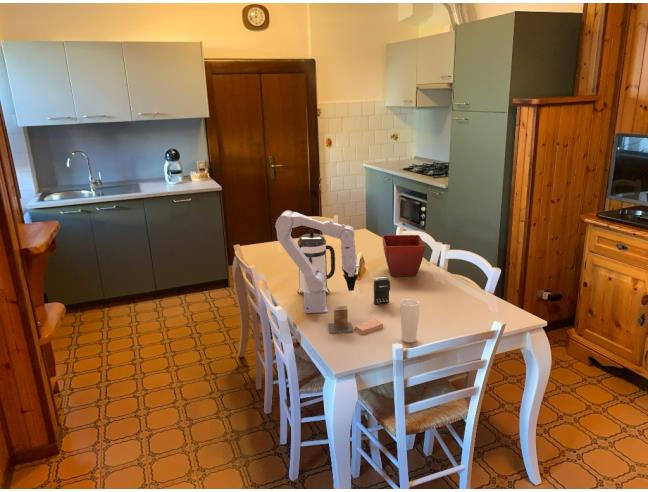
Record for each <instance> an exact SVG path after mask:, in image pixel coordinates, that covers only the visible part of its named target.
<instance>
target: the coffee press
mask: <svg viewBox="0 0 648 492" xmlns="http://www.w3.org/2000/svg"><path fill="white" fill-rule="evenodd" d="M326 244H327V239H326V237H325V236H324V235H323V234H319V233H315V231H314V230H313V229H310V230H309V231H308V233H306V234H302V236H300V237H299V238H298V240H297V245H298V247H299V248H300V249H301V251H302V252H303V253H304V255H305V256H306V257H307V259H308V260H309V261H310V263H311V264H312V265H313V266H314V267H316V268H317V269H318V270H319V271H321V272H322V273H324V275H325V282H324V284H323V285H324V286H325V290H327V291H326V294H327V295H329V294H330V292H331V290H330V289H329V287H328V280H329V279H331V278H333V276H334V275H335V271H336V253H335V252H336V251H335V249H334V247H333V246H331V245H328V244H327V245H326ZM327 250H329V252H330V272H329V273H328V270H327V267H328V266H327V265H328V263H327V262H328V261H327ZM298 276H299V277H298V279H299V282H298V283H299V288H298V289H297V291H296V292H297V293H298V294H301V293H304V290H307V289H308V284H307V282H306V281H305V278H304V275H303V273H302V272H301V270H300V269H299V268H298ZM299 290H300V291H299ZM299 292H300V293H299Z"/></svg>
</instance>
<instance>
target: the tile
mask: <svg viewBox="0 0 648 492" xmlns="http://www.w3.org/2000/svg"><path fill="white" fill-rule="evenodd" d="M382 328H384V323H383V322H380V321H379V320H377V319H375V318H374V319H371V320H368V321H364V322H362V323H360V324H356V325H354V331H356V332H357V333H359V334H361V335H365V334H368V333H371V332H374V331H377V330H380V329H382Z"/></svg>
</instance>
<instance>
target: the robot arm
mask: <svg viewBox="0 0 648 492" xmlns="http://www.w3.org/2000/svg"><path fill="white" fill-rule="evenodd" d="M300 226H303V227H306V228H307V227H308V228H312V229H316V230H319V231H321V233H322V235H325V236H328V237H331V238H334V239H337V240H338V239H339V240H340V243H341V245H340V249H341V251H340V252H341V270H342V272H343V275H342V276H343V278H344V280H345V282H346V285H347V290H348V291H349V292H351V291H353V292H354V291H355V288H356V287H355V285H356V280H357V278H358V274H354V272H355V271H356V270H357V268H360V265H359V264H357V257H356V256H357V255H356V245H355V243H356V242H355V234H356V230H355V228H354V227H353V226H351V225H349V224H346V225H345V224H344V223H342V224H340V223H338V222H334V220H332V219H330V220H325V221H321V220H317V219H315V218H313V217H310V216H307V215H304V214H302V213H299V212H297V211H296V212H295V211H292V210H285V211H283V212H281V215H279V217H278V218H277V219H276V223H275V226H274V227H275V229H276V237H277V238H276V239H277V241H278V243H279V244H280V245H281V246H282V248H283V249H284V250H285V252H286V253H287V254H288V256H289V257H290V258H291V260H292V261H293V262H294V263H295V265H296V266H297V267H298V270H299V269H300V270H301V272H302V273H303V275H304V278H305V281H306V282H307V284H308V289H307V290H304V292H303V308H304V309H303V310H304V314H315V313H316V314H318V313H319V314H320V313H327V312H328V307H327V296H326V294H327V293H326V292H327V291H326V290H327V289H326V290H325V286H324V285H323V284H324V282H325V275H324V273H322V272H321V271H319V270H318V269H317V268H316V267H314V266H313V265H312V264H311V263H310V261H309V260H308V259H307V257H306V256H305V255H304V253H303V252H302V251H301V249H300V248H299V247H298V243H296V241H295V240H294V239H293V237H292V236H291V234H292V229H295V228H297V227H300Z"/></svg>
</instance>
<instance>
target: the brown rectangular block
mask: <svg viewBox="0 0 648 492" xmlns="http://www.w3.org/2000/svg"><path fill="white" fill-rule="evenodd" d="M348 310H349V309H348V306H347V305H337V306H335V305H334V306H333V323H334V327H335V329H348V322H349V320H348V319H349V318H348V317H349V315H348V312H349V311H348Z"/></svg>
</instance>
